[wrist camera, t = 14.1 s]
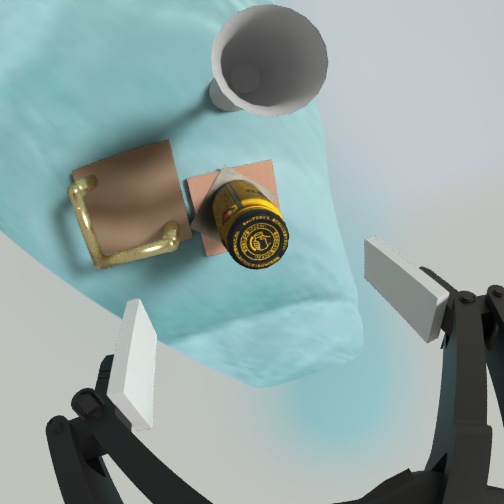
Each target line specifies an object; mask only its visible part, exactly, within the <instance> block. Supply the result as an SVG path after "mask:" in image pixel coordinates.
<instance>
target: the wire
mask: <svg viewBox="0 0 504 504" xmlns="http://www.w3.org/2000/svg"><path fill="white" fill-rule="evenodd" d="M97 183H98V180H97V178H96V176H95V175H92V174H89V175H87V176H85V177H83V178H81V179H80V180H78V181H76V182H74V183H72V184H71V185H70V186H69V187H68V190H67V194H68V197H69V198H70V200H71V203H72V206H73V209H74V212H75V215H76V218H77V221H78V224H79V227H80V229H81V232H82V235H83V237H84V240H85V243H86V245H87V248H88V251H89V253H90V256H91V258H92V260H93V263H94V265H95V267H96V268H97V269H99V270H102V269H106V268H110V267H113V266H117V265H121V264H125V263H128V262H132V261H136V260H140V259H143V258H147V257H151V256H155V255H159V254H163V253H166V252H169V253H172V252H175V251H176V250H177V249H178V246H179V235H180V225H179V223H178V222H177V221H175V220H170V221H168V222H167V223H166V225H165V229H164V233H163V237H162V239H161V240H158V241H154V242H150V243H146V244H143V245H139V246H135V247H132V248H128V249H124V250H121V251H117V252H114V253H110V254H107V255H104V254H103V251H102V249H101V246H100V244H99V241H98V238H97V235H96V233H95V230H94V227H93V224H92V221H91V218H90V215H89V212H88V209H87V206H86V203H85V200H84V197H83V196H85V195H86V194H87V193H89V192H90V191H91V190H93V189H94V188H95V187H96V186H97Z"/></svg>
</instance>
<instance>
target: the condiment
mask: <svg viewBox="0 0 504 504" xmlns="http://www.w3.org/2000/svg"><path fill="white" fill-rule="evenodd" d="M276 196H277V195H276V194H275V193H273V192H271V191H270V190H268V189H266V188H264V187H263V186H261V185H259V184H258V183H256V182H254V181H252V180H251V179H249V178H247V177H245V176H244V175H242V174H240V173H238V172H236V171H235V170H233V169H231V168H229V167H227V166H226V165H224V167H223V168H222V170H221V172H220V173H219V175H218V177H217V178H216V180H215V182H214V184H213V185H212V187H211V189H210V191H209V192H208V194H207V196H206V197H205V199H204V201H203V203H202V205H201V207H200V208H199V210H198V212H197V214H196V216H195V218H194V220H193V221H192V223H191V225H190V228H191V229H192V230H195V231H197V232H199V233H201V234H203V235H206V236H208V237H210V238H212V239H214V240H216V241H218V242H220V243H222V244H223V246H224V247H225V249H226V250H227V251H228V252H229V254H230V255H231V256H232V258H233V259H234V260H235V261H236V262H237V263H239V264H240V265H242V266H244V267H246V268H249V269H256V270H257V269H263V268H268V267H269V266H271V265H273V264H274V263H276V262H278V261H279V260H280V259H281V257H282V256H283V255H284V253H285V251H286V249H287V247H288V239H289V233H288V229H287V227H286V224H285V222H284V221H283V218H282V215H281V213H280V211H279V210H278V208H277V207H276V206H275V204H273V203H272V202H273V200H274V199H275V197H276Z"/></svg>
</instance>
